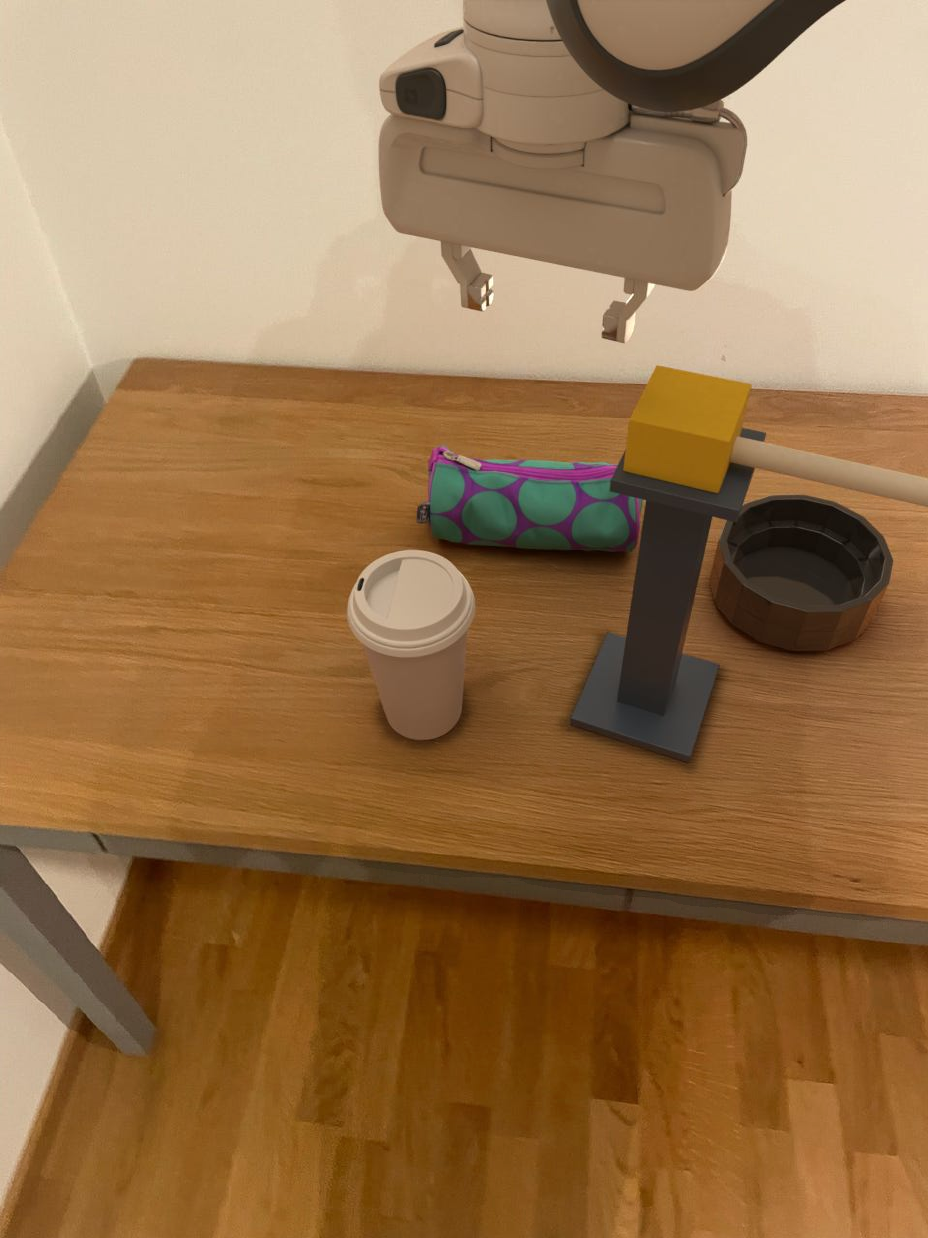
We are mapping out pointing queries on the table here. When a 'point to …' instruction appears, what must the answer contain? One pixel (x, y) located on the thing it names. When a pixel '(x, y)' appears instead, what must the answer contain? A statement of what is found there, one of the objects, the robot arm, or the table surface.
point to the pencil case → (528, 504)
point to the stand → (661, 619)
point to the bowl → (800, 572)
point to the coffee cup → (414, 638)
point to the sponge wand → (732, 442)
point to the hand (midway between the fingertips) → (545, 320)
